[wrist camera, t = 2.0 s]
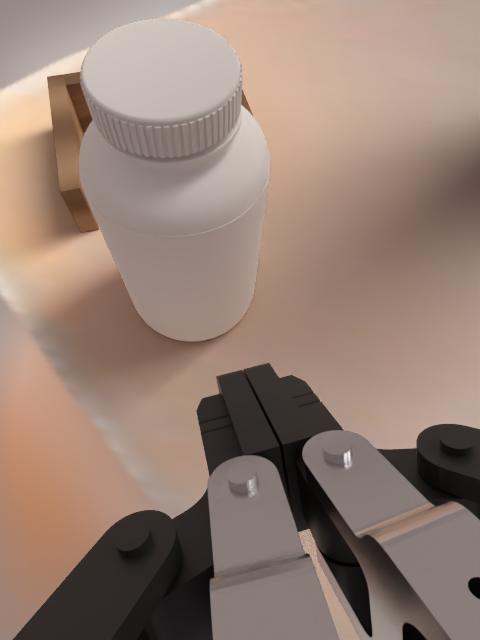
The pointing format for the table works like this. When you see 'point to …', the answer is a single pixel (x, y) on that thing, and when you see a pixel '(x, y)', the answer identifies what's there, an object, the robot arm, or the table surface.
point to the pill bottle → (175, 173)
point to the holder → (74, 142)
